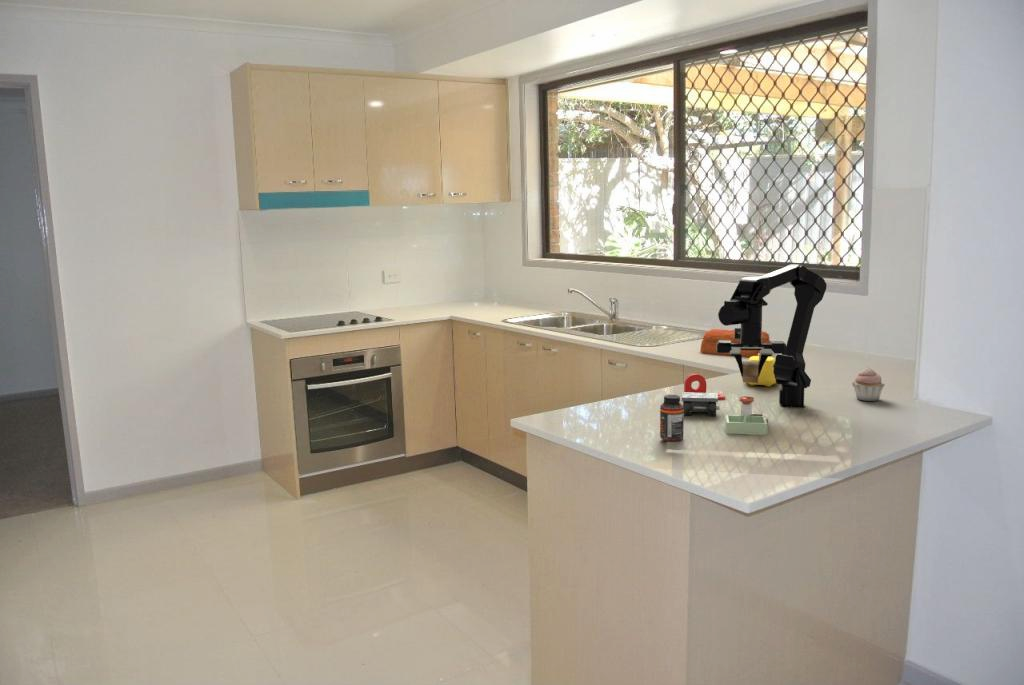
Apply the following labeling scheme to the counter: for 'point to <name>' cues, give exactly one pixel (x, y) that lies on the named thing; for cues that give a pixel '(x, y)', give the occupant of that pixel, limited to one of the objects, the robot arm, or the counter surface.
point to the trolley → (700, 402)
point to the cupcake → (868, 385)
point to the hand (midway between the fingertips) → (750, 376)
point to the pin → (746, 408)
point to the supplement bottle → (671, 419)
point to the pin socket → (760, 415)
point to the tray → (746, 425)
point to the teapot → (765, 372)
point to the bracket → (700, 388)
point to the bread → (718, 334)
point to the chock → (750, 372)
